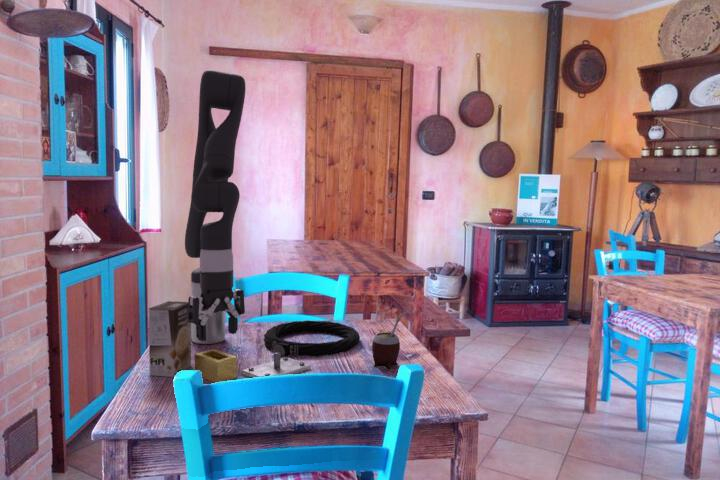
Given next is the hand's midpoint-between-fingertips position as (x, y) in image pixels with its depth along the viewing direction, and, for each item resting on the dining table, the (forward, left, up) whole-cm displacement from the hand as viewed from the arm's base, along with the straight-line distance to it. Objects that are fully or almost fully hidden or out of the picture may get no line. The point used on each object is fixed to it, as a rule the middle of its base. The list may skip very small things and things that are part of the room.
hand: (217, 336), depth 130 cm
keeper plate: (+8, +12, -10) cm, 17 cm away
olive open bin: (0, 0, -10) cm, 10 cm away
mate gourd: (+25, +34, -10) cm, 43 cm away
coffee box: (-11, -5, -10) cm, 16 cm away
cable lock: (-3, +34, -10) cm, 35 cm away
